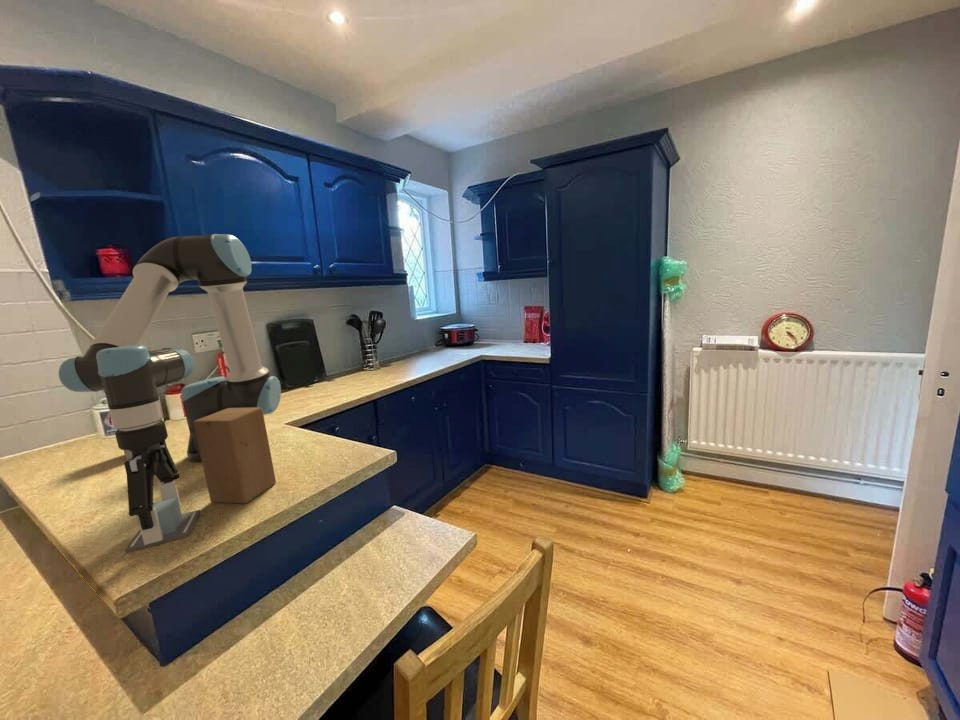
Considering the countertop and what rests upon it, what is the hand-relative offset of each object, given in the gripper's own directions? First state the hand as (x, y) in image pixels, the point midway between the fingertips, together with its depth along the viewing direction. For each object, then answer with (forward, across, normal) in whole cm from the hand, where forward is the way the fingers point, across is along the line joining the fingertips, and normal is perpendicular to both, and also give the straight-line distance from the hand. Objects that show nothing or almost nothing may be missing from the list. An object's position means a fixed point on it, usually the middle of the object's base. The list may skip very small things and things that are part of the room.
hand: (164, 525), depth 81 cm
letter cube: (+1, 0, 0) cm, 1 cm away
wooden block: (+2, -10, +13) cm, 16 cm away
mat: (+1, 0, 0) cm, 1 cm away
